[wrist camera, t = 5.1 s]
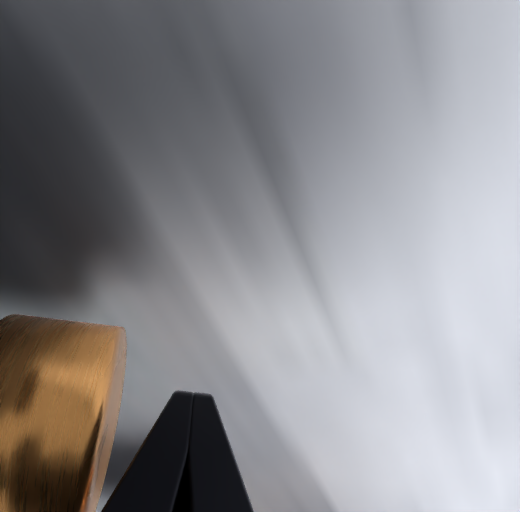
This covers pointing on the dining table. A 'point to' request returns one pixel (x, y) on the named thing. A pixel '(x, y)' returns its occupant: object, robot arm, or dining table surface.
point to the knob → (57, 411)
